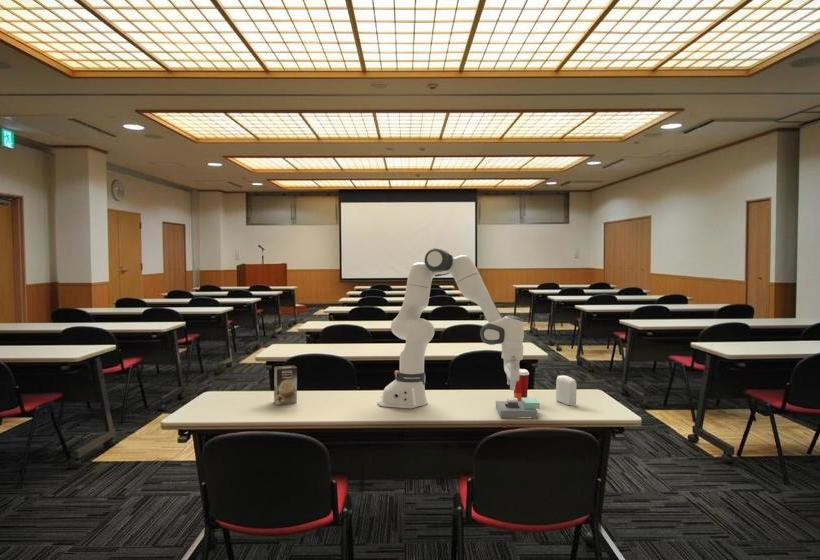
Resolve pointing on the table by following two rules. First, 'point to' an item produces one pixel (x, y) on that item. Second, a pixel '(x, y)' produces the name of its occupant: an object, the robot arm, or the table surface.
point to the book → (566, 390)
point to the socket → (514, 410)
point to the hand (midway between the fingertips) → (511, 387)
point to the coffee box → (285, 385)
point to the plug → (512, 403)
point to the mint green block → (530, 403)
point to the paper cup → (521, 385)
